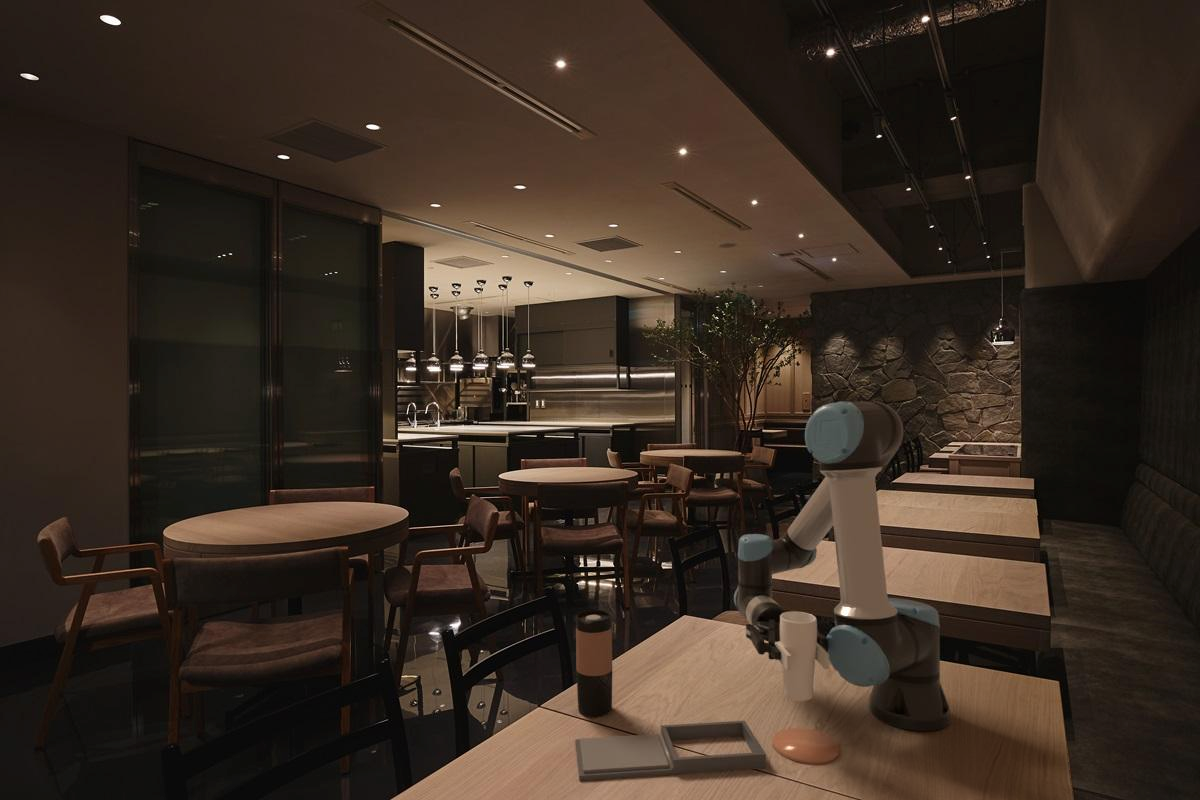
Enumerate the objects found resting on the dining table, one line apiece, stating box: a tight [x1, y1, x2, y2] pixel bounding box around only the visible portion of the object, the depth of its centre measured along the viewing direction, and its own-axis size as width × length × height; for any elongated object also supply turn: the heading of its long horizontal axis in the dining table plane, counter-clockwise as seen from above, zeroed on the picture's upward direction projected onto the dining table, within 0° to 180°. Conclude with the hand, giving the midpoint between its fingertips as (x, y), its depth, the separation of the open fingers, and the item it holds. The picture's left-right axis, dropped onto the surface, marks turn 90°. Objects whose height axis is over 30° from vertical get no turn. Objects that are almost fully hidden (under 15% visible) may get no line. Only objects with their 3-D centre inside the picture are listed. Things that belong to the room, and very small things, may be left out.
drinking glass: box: [779, 611, 818, 702], centre depth 128 cm, size 7×7×15 cm
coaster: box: [771, 727, 840, 765], centre depth 128 cm, size 12×12×1 cm
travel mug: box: [575, 609, 613, 718], centre depth 144 cm, size 8×8×20 cm
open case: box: [574, 720, 767, 781], centre depth 126 cm, size 33×13×2 cm, turn 95°
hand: (808, 662), depth 123 cm, fingers closed on drinking glass, 6 cm apart
